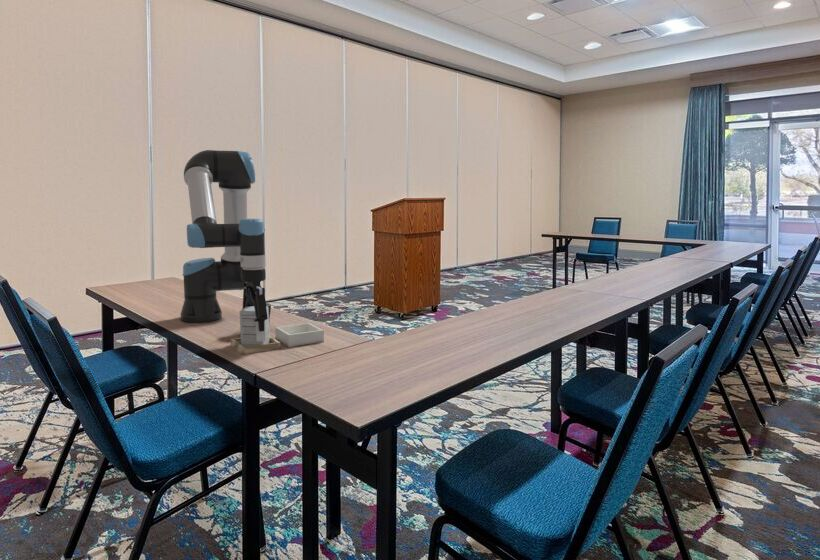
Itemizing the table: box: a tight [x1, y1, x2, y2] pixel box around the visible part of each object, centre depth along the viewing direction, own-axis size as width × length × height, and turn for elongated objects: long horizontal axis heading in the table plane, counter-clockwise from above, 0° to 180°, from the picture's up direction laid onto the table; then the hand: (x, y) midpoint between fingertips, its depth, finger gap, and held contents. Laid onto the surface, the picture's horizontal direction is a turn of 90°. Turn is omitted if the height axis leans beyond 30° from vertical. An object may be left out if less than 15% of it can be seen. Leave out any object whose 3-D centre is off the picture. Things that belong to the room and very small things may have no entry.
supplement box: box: [239, 306, 271, 347], centre depth 172 cm, size 7×7×13 cm
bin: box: [274, 322, 325, 348], centre depth 181 cm, size 12×12×4 cm
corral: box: [230, 334, 282, 355], centre depth 173 cm, size 12×12×2 cm
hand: (255, 337), depth 172 cm, fingers closed on supplement box, 10 cm apart
